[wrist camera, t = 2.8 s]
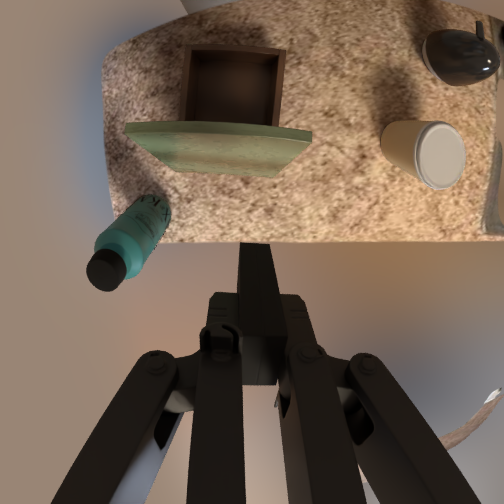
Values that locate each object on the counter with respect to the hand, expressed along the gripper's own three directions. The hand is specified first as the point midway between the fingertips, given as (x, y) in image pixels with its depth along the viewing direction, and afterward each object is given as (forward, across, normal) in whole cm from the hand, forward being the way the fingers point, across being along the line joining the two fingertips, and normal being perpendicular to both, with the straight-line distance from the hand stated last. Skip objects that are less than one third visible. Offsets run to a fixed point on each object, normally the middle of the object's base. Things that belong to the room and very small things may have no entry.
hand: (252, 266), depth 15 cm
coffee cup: (+28, +24, +8) cm, 38 cm away
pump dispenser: (+28, +31, +26) cm, 49 cm away
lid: (+12, -3, +4) cm, 13 cm away
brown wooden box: (+28, -3, +9) cm, 30 cm away
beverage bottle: (+28, -14, -7) cm, 32 cm away
